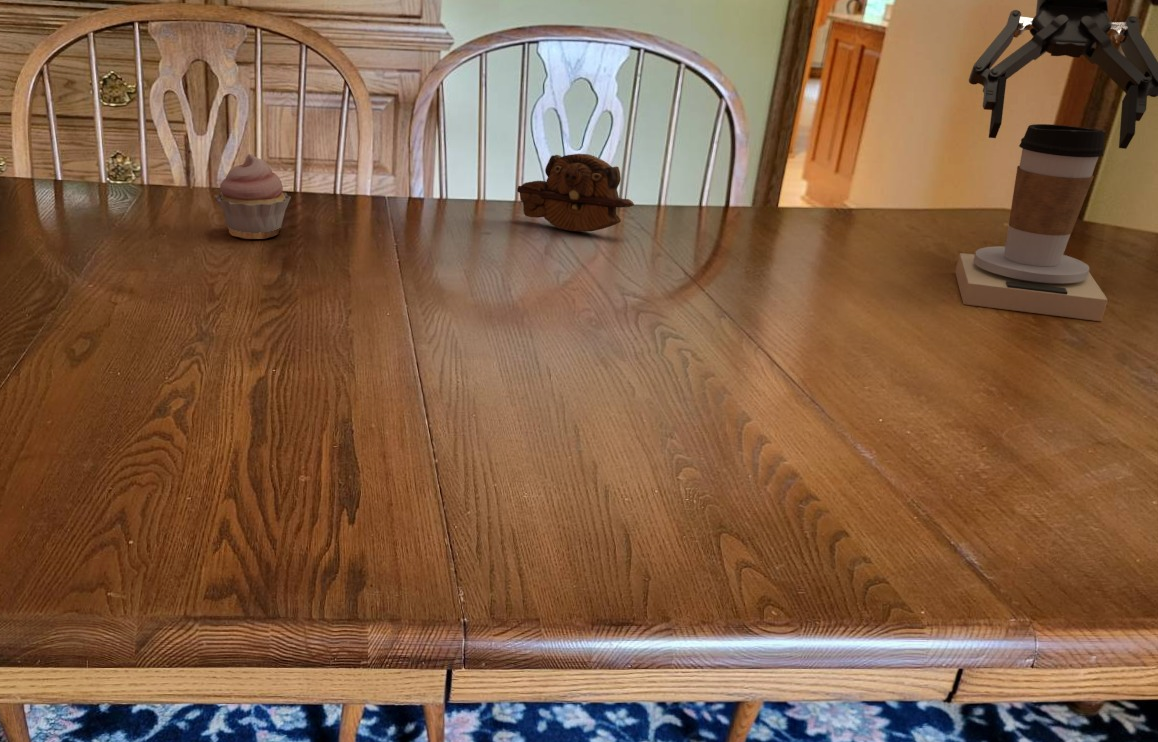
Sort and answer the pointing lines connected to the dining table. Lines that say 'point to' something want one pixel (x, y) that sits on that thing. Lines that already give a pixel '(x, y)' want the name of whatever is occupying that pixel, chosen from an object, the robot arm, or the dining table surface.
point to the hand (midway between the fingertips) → (1059, 136)
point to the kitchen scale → (1029, 285)
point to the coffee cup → (1050, 191)
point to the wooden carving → (575, 193)
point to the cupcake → (253, 197)
